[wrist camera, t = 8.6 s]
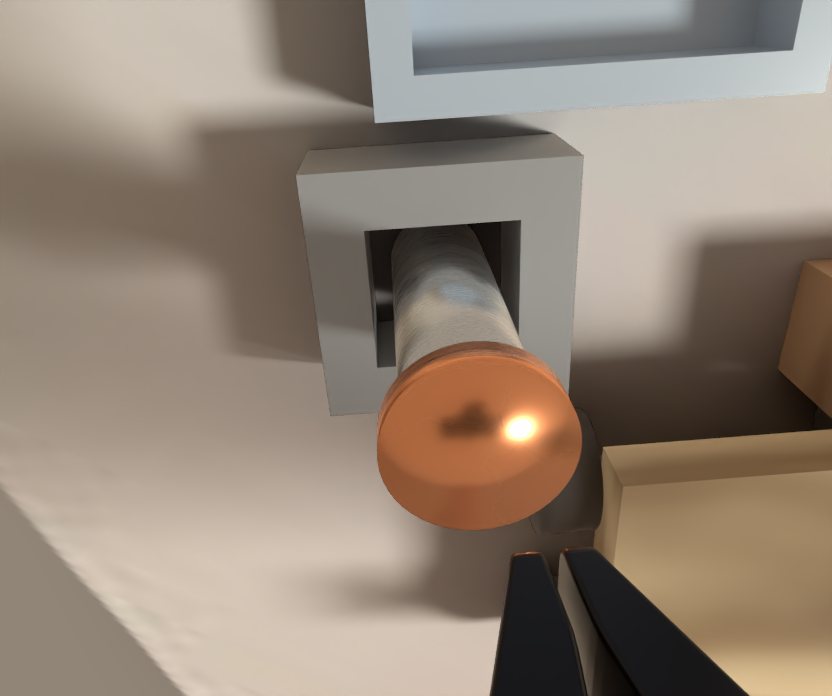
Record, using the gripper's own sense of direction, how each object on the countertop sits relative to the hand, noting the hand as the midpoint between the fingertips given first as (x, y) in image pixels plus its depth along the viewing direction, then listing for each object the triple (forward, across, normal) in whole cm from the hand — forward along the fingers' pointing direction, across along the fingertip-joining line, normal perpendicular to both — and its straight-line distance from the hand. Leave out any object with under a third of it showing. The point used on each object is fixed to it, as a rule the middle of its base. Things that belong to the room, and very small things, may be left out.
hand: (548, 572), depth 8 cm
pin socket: (+13, 0, 0) cm, 13 cm away
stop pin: (+13, 0, 0) cm, 13 cm away
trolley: (+13, -9, +12) cm, 19 cm away
